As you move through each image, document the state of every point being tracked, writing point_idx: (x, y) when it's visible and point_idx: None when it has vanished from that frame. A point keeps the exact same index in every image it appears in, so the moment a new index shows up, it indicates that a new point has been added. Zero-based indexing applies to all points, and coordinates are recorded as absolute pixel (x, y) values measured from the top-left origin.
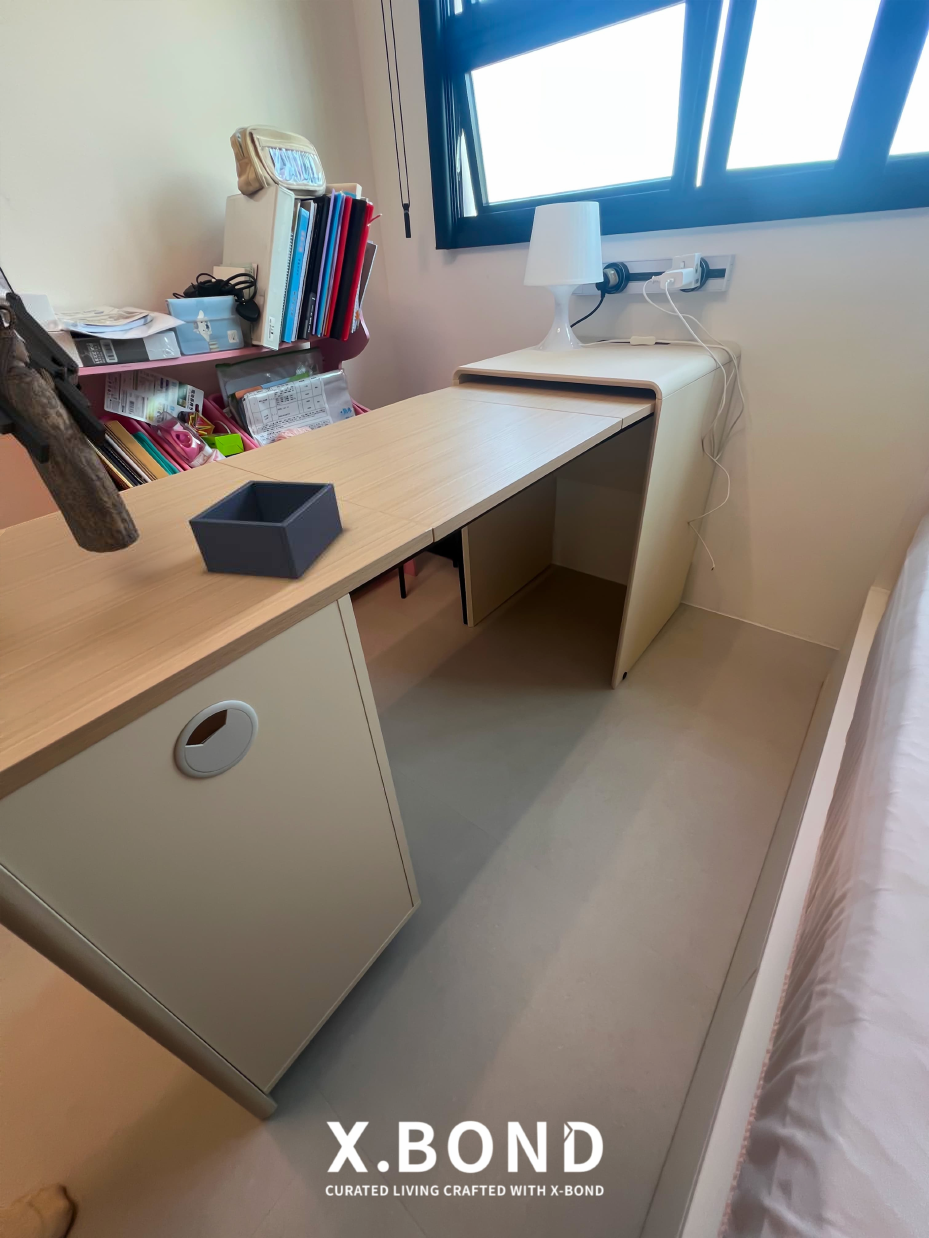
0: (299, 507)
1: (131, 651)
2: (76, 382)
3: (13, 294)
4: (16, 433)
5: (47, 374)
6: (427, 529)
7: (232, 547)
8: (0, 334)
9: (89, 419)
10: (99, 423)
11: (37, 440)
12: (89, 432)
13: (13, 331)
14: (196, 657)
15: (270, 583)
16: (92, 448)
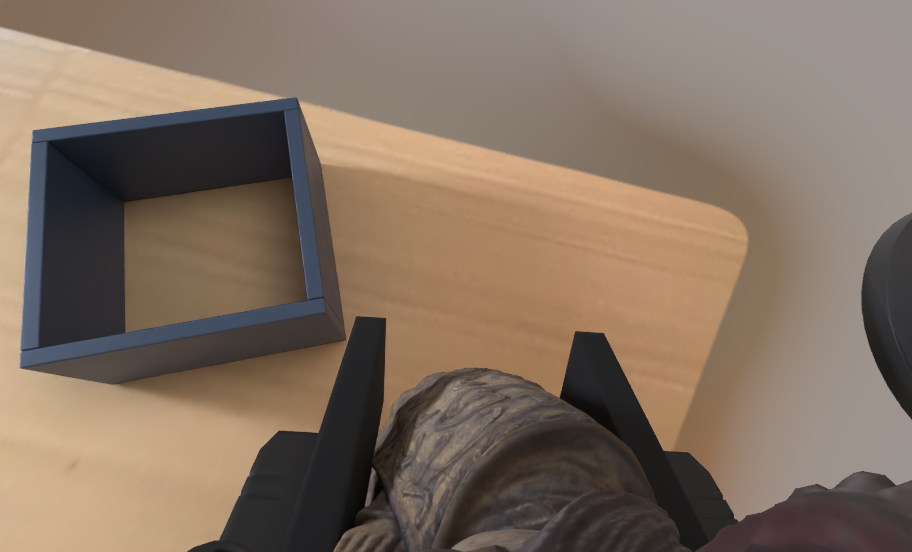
0: (88, 247)
1: (577, 263)
2: None
3: None
4: None
5: (348, 548)
6: (82, 50)
7: (325, 245)
8: None
9: (378, 348)
10: (359, 332)
11: (605, 349)
12: (378, 400)
13: None
14: (545, 168)
15: (347, 198)
16: (376, 443)
